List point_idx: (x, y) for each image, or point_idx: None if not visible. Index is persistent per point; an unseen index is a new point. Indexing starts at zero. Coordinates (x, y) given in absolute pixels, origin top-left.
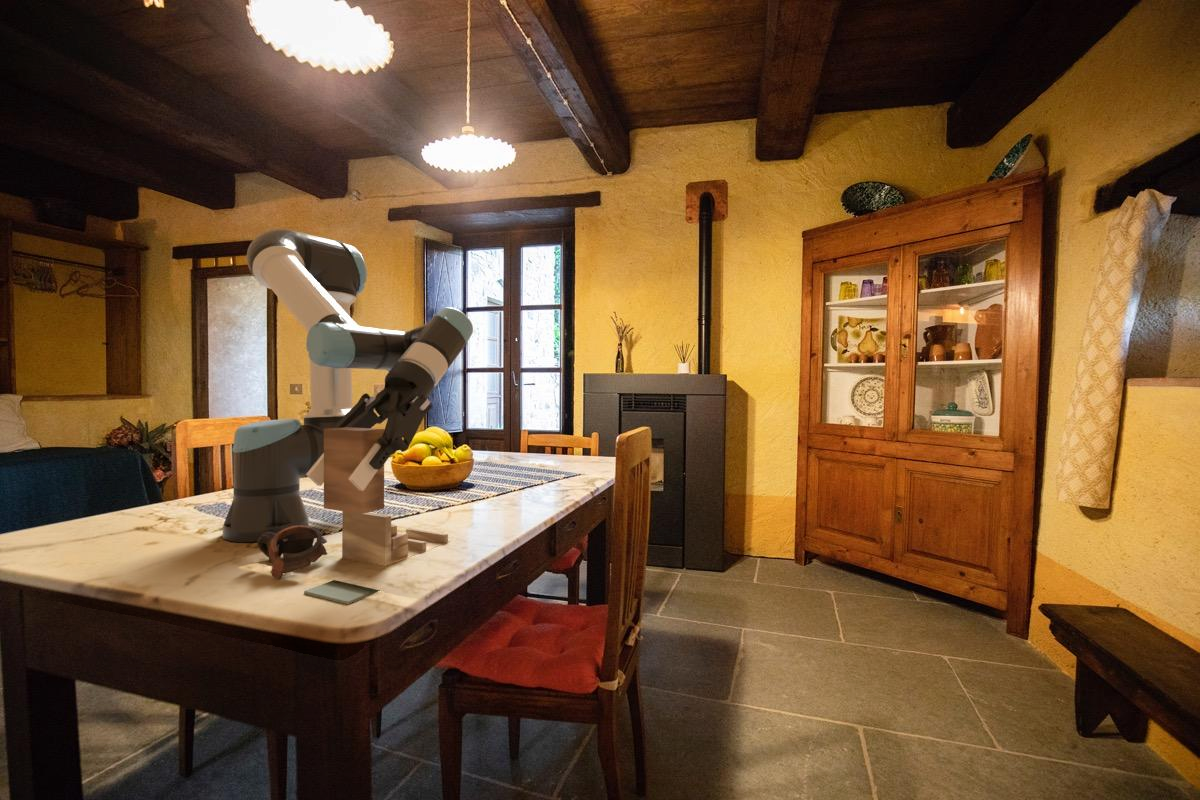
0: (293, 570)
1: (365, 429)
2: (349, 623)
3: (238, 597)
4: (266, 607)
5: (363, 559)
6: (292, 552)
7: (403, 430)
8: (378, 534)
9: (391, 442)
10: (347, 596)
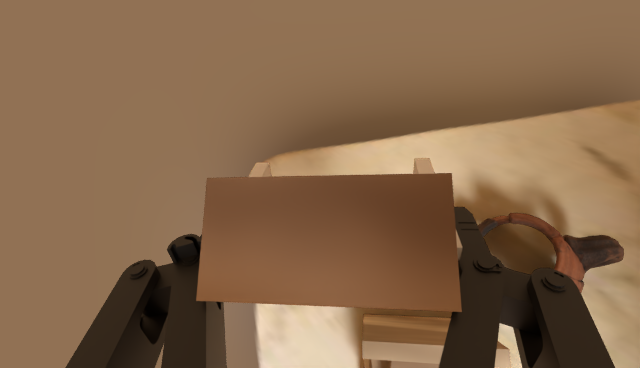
0: None
1: (251, 239)
2: (272, 168)
3: (463, 155)
4: (397, 153)
5: (415, 319)
6: None
7: (101, 308)
8: (382, 331)
9: (172, 272)
10: None
